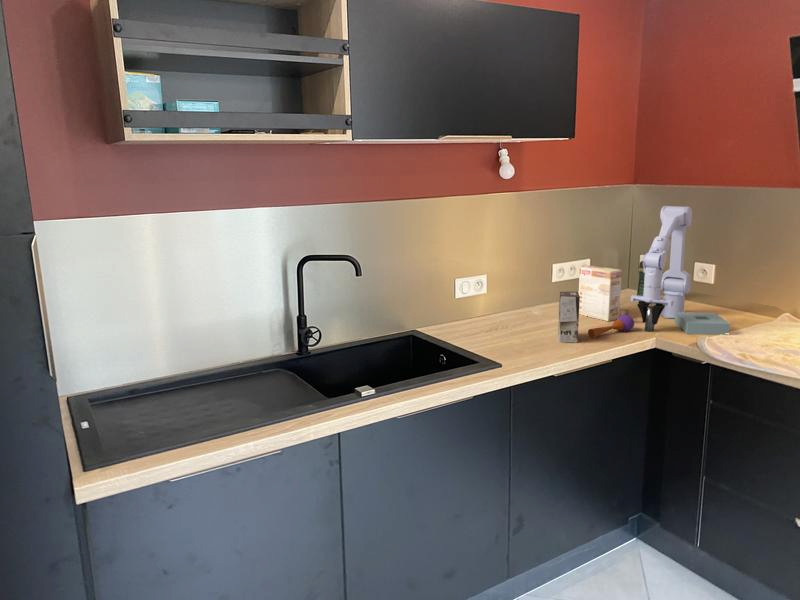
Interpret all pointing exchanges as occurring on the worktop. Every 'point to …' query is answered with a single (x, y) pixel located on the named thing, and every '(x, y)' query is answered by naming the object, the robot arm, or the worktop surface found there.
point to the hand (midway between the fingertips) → (649, 323)
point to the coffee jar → (641, 280)
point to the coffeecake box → (599, 292)
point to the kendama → (614, 326)
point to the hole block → (702, 323)
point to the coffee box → (568, 316)
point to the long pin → (649, 319)
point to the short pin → (623, 312)
